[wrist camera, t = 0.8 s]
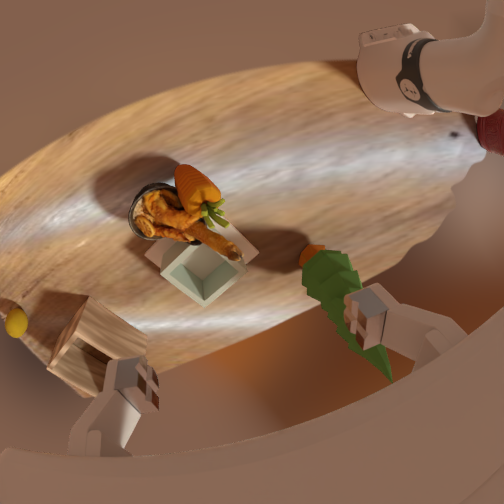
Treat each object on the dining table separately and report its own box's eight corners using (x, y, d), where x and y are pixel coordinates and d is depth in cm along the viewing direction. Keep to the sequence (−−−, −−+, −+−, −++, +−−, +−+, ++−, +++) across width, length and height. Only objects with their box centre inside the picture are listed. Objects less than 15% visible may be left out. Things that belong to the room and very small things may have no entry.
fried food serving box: (89, 295, 47) (75, 330, 38) (147, 335, 54) (144, 372, 45) (58, 336, 50) (46, 369, 41) (109, 369, 57) (104, 402, 48)
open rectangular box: (202, 195, 43) (204, 210, 37) (258, 250, 50) (268, 270, 44) (145, 252, 45) (139, 274, 39) (202, 297, 52) (204, 322, 46)
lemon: (28, 303, 44) (15, 327, 37) (35, 322, 47) (23, 346, 40) (11, 299, 43) (-4, 322, 36) (17, 318, 45) (5, 341, 38)
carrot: (157, 163, 38) (191, 221, 29) (186, 146, 38) (231, 196, 29) (171, 186, 42) (208, 248, 33) (198, 170, 42) (243, 225, 33)
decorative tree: (281, 263, 52) (355, 398, 26) (312, 224, 49) (417, 340, 24) (316, 283, 56) (392, 401, 30) (345, 248, 54) (442, 354, 28)
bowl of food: (113, 184, 35) (137, 273, 25) (182, 152, 38) (238, 222, 27) (136, 228, 43) (169, 316, 32) (196, 199, 45) (249, 275, 35)
